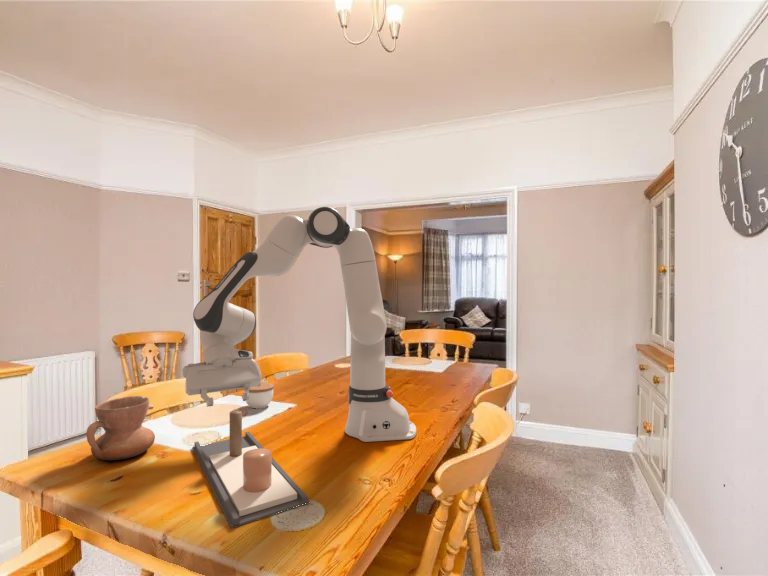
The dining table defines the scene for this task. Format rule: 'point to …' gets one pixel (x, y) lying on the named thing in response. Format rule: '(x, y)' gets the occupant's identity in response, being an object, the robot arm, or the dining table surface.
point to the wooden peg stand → (231, 475)
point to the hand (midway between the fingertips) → (228, 402)
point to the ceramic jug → (121, 428)
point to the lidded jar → (260, 395)
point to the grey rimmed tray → (221, 494)
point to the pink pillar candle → (257, 470)
